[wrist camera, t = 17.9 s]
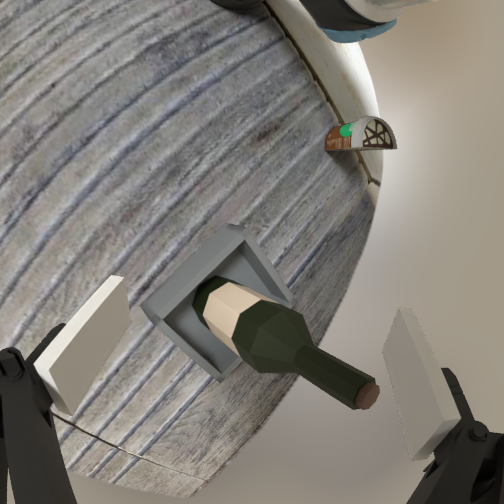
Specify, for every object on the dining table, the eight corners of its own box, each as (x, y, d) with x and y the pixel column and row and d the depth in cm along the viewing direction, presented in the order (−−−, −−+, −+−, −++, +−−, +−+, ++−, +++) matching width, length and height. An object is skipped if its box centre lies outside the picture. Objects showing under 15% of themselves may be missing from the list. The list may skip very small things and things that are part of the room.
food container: (357, 123, 61) (395, 118, 52) (359, 151, 62) (398, 149, 54) (316, 118, 55) (356, 110, 46) (319, 150, 56) (360, 146, 48)
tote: (226, 223, 49) (246, 227, 44) (275, 292, 56) (297, 301, 51) (139, 305, 43) (149, 320, 38) (204, 365, 51) (220, 383, 46)
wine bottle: (239, 271, 50) (406, 342, 25) (240, 319, 52) (388, 412, 27) (190, 279, 46) (345, 376, 21) (193, 330, 48) (331, 451, 23)
